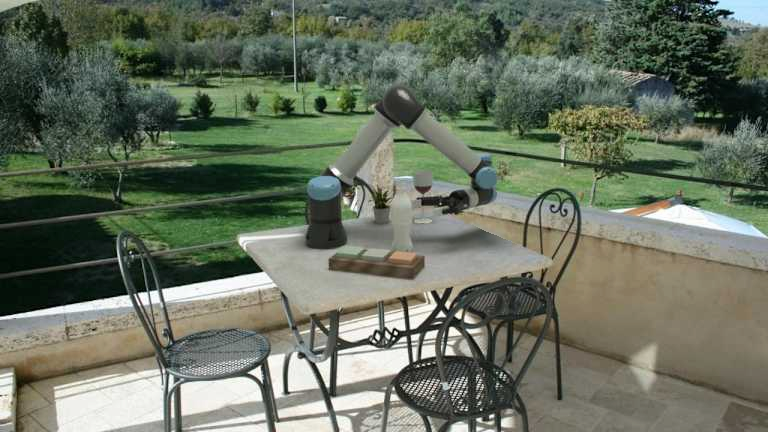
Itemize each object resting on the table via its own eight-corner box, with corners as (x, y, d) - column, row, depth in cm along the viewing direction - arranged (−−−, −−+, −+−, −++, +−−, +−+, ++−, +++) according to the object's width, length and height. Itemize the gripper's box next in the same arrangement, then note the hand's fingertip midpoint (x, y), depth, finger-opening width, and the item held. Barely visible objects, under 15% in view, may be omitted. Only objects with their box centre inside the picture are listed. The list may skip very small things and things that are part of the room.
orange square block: (388, 266, 191) (388, 258, 190) (396, 259, 197) (396, 251, 196) (410, 269, 188) (410, 260, 188) (417, 261, 195) (417, 253, 194)
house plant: (354, 222, 248) (352, 183, 244) (376, 215, 258) (375, 177, 254) (381, 228, 239) (380, 187, 235) (403, 220, 250) (402, 181, 245)
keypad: (328, 269, 196) (328, 258, 195) (344, 257, 207) (343, 247, 206) (412, 279, 186) (412, 268, 185) (424, 266, 197) (424, 255, 196)
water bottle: (412, 250, 213) (412, 179, 206) (411, 256, 206) (411, 183, 199) (392, 249, 214) (391, 179, 207) (390, 256, 207) (389, 183, 200)
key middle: (361, 263, 194) (361, 255, 193) (370, 256, 200) (370, 248, 200) (383, 265, 191) (383, 257, 191) (391, 258, 198) (391, 250, 197)
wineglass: (435, 218, 251) (435, 170, 246) (429, 224, 243) (430, 175, 238) (416, 217, 254) (416, 169, 248) (410, 223, 246) (410, 174, 241)
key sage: (336, 260, 197) (335, 252, 196) (345, 253, 203) (344, 245, 203) (356, 263, 194) (356, 254, 194) (365, 256, 201) (365, 247, 200)
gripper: (488, 216, 216) (446, 227, 203) (438, 203, 234) (396, 213, 221) (489, 195, 214) (446, 205, 201) (438, 184, 232) (396, 193, 219)
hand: (420, 209), depth 211 cm, fingers open, 13 cm apart
